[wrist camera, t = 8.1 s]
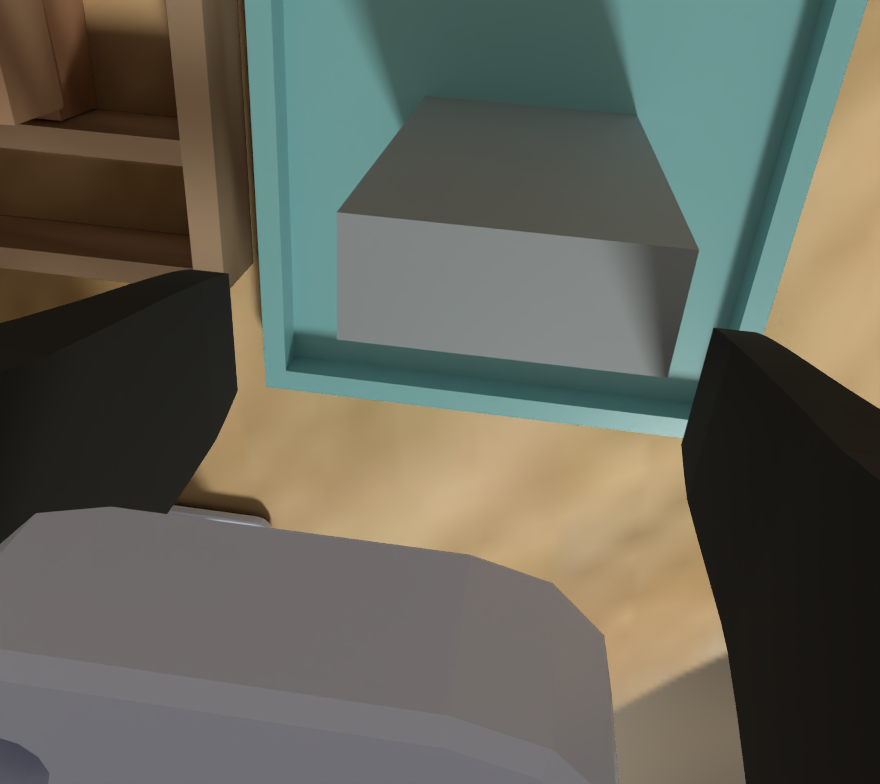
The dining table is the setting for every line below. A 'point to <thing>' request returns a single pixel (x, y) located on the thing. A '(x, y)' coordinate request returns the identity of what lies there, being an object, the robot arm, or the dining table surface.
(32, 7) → the offcut upper
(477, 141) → the slate gray block
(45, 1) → the offcut lower
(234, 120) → the rack
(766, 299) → the tray
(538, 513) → the dining table surface
